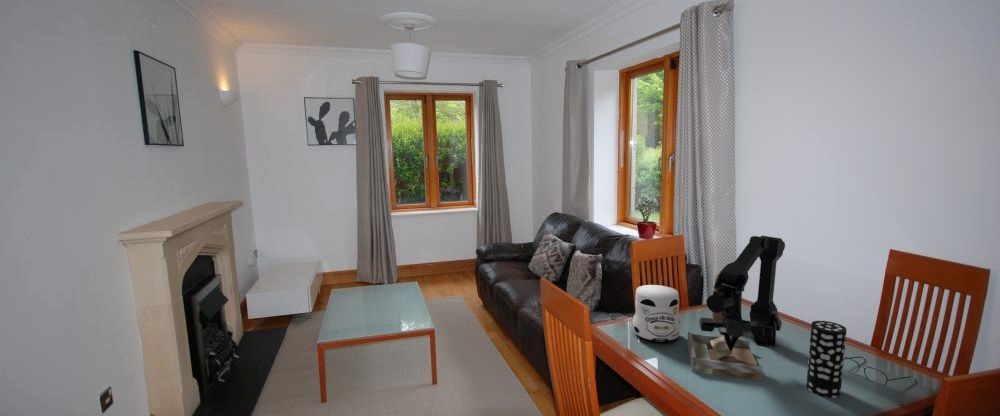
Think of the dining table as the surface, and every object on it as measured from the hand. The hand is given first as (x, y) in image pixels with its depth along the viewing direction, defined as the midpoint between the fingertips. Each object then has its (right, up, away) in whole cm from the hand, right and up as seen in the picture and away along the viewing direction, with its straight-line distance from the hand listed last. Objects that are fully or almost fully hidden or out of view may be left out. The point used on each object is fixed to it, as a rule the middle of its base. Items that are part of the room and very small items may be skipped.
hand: (730, 350), depth 152 cm
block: (+14, +1, +34) cm, 37 cm away
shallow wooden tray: (-2, -4, +2) cm, 5 cm away
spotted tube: (+19, -7, -17) cm, 26 cm away
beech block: (-2, -1, +1) cm, 2 cm away
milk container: (-17, -2, +22) cm, 28 cm away
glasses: (+42, -5, -8) cm, 43 cm away
